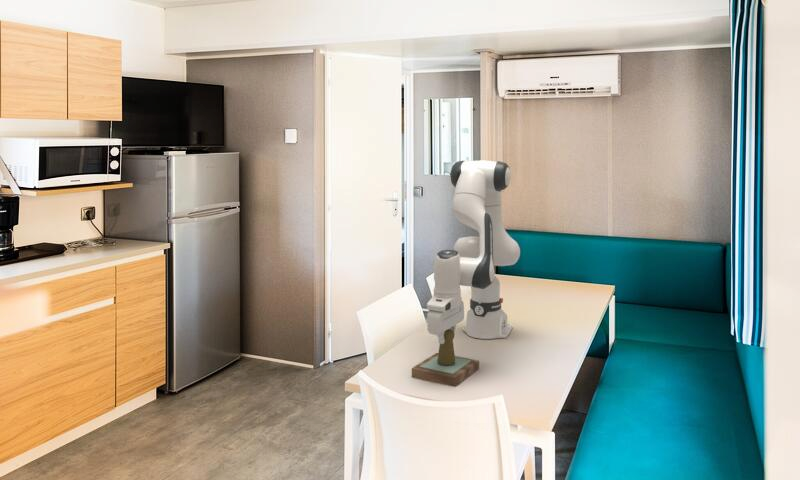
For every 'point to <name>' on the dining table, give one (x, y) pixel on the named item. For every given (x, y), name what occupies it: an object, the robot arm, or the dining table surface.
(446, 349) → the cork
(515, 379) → the dining table surface
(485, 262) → the robot arm
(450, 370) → the wooden tray
